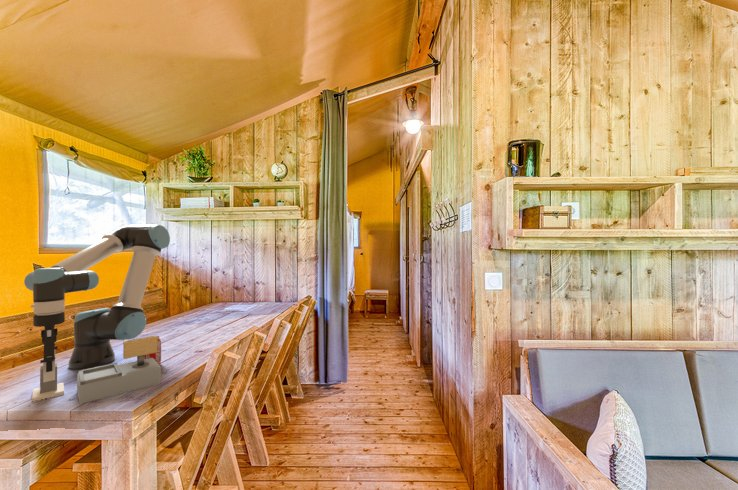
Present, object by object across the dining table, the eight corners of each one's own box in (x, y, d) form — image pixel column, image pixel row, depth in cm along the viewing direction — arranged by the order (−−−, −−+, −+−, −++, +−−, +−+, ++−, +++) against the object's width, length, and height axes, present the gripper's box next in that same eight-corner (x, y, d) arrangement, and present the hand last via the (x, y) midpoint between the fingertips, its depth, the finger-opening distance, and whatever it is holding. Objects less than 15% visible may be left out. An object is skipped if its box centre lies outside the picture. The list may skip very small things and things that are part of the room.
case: (77, 390, 109) (77, 370, 109) (152, 372, 124) (152, 355, 124) (79, 404, 99) (79, 382, 99) (161, 383, 114) (161, 364, 114)
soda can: (150, 370, 127) (150, 340, 127) (136, 368, 128) (136, 339, 129) (165, 363, 134) (165, 335, 134) (151, 362, 135) (151, 334, 136)
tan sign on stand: (123, 367, 113) (123, 340, 113) (156, 360, 120) (156, 335, 120) (124, 369, 111) (124, 342, 112) (157, 362, 118) (157, 336, 119)
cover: (33, 393, 107) (33, 365, 107) (63, 386, 113) (63, 360, 113) (32, 403, 100) (32, 373, 100) (64, 395, 106) (64, 367, 106)
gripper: (35, 309, 113) (35, 367, 113) (31, 321, 95) (31, 390, 95) (64, 306, 118) (64, 362, 118) (65, 316, 101) (65, 382, 101)
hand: (49, 374), depth 107 cm, fingers open, 13 cm apart
